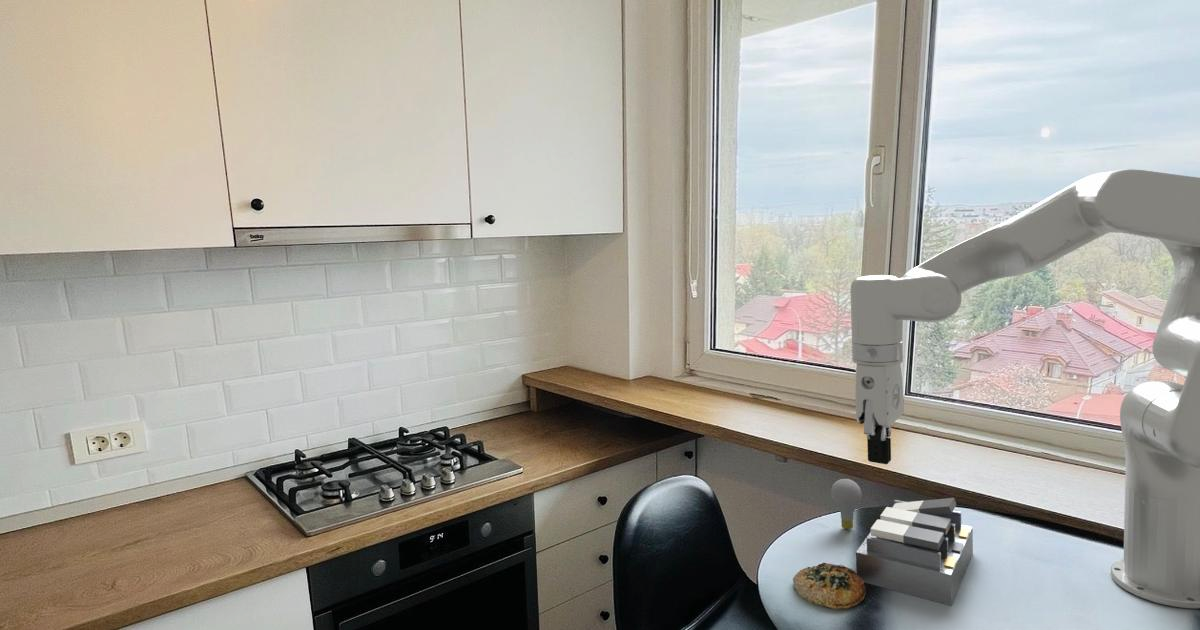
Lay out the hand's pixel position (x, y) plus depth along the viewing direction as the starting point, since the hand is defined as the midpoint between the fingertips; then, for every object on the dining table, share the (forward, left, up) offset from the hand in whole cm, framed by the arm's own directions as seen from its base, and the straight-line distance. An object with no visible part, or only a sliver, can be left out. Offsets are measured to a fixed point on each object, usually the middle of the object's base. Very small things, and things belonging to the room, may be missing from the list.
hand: (879, 461), depth 106 cm
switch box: (-4, -4, -19) cm, 20 cm away
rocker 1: (-4, -10, -11) cm, 16 cm away
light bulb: (+10, -12, -20) cm, 25 cm away
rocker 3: (-4, +1, -11) cm, 12 cm away
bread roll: (+6, +10, -20) cm, 23 cm away
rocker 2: (-4, -4, -11) cm, 13 cm away
